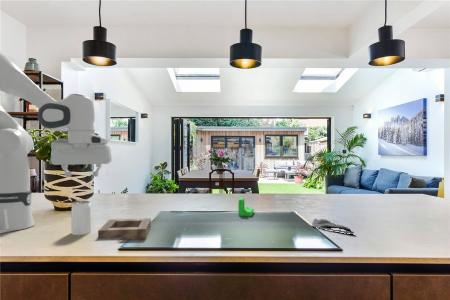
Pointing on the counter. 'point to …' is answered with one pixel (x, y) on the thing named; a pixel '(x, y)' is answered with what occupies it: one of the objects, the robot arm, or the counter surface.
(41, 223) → the counter surface
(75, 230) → the can
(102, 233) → the socket block
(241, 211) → the mechanical part
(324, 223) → the cloth
